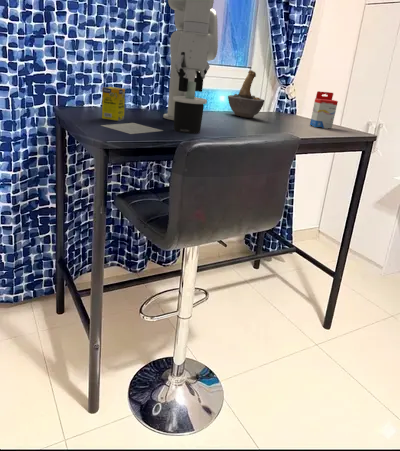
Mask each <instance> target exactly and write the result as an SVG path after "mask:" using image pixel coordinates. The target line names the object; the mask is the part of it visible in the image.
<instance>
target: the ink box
mask: <svg viewBox="0 0 400 451" xmlns="http://www.w3.org/2000/svg"><path fill="white" fill-rule="evenodd" d="M315 95H316V96H315V98H314V103H313V107H312V113H311V118H310V123H309V126H310V125H312V126H314V127H313V128H315V127H322V128H321V129H328V128H333V124H334V120H335V115H336V111H337V106H338V102H339V101H338V100H335V99H333V97H334V92H328V91H317V92H316V94H315ZM312 126H311V127H312Z"/></svg>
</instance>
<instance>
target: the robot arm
mask: <svg viewBox="0 0 400 451" xmlns="http://www.w3.org/2000/svg"><path fill="white" fill-rule="evenodd" d="M167 3H168V6H169V7H170V9H171V10H174V25H175V29H176V30H175V31H173V32H172V34H171V35H170V39H169V46H170V47H169V49H170V50H169V51H170V73H169V74H170V75H169V90H168V101H167V102H168V104H167V113H164V114H163V117H162V118H164V119H167V120H171V121H174V108H175V102H176V101H174V100H173V96H185V95H186V92H187V89H188V81H191V82H196V89H195V92H199V93H201V92H203V89H204V88H203V87H204V80H205V78H206V75H207V73H208V71H209V70H210V67H211V66H210V63H209V61H213V60H214V59H215V58H216V57H217V55H218V47H219V45H218V44H219V43H218V42H219V40H218V39H219V36H218V34H219V32H218V30H219V28H218V26H219V25H218V15H217V13H216V12H217V11H216V10H215V9H213V7H214V4H215V0H167Z"/></svg>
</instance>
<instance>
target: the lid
mask: <svg viewBox="0 0 400 451" xmlns="http://www.w3.org/2000/svg"><path fill="white" fill-rule="evenodd" d="M195 89H196V82H191V81H188V89H187V92H186V95H185V96H173V100H174V101H177V102H183V103H191V104H204V105H207V104H208V100H207V99H206V98H202V97H197V96H196V91H195Z"/></svg>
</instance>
